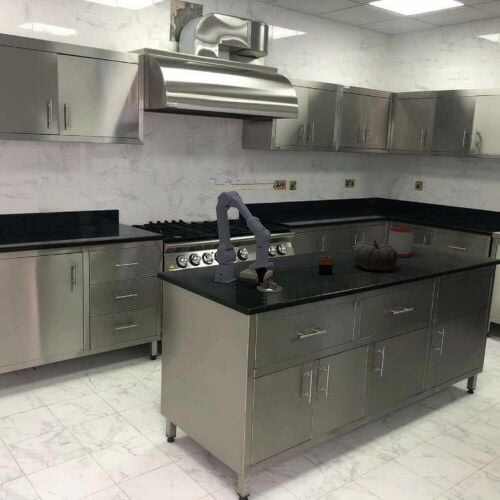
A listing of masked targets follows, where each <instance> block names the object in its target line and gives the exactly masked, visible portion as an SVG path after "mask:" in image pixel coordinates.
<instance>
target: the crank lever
mask: <svg viewBox="0 0 500 500" xmlns="http://www.w3.org/2000/svg"><path fill="white" fill-rule="evenodd" d="M255 283H258V277H256V280H255ZM258 284H259V285H265V286H266V287H270V288H272V289H277V285H278V283H276V282H274V279H270V278H267V279H264V278H263V283H258Z"/></svg>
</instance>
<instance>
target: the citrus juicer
mask: <svg viewBox="0 0 500 500" xmlns="http://www.w3.org/2000/svg"><path fill="white" fill-rule="evenodd" d="M388 232H389V233H388V241H387V242H388V243H387V244H389V245H391V246H392V247H393V248H394V249H395V250H396V252H397V254H398V258H408V257H410V254H411V252H412V248H413V244H414V239H416V235H415V230H412V231H410V228H406V227H405V226H404V225H403V224H400V225H399V226H398V227H391V228H389V229H388Z"/></svg>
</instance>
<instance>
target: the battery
mask: <svg viewBox="0 0 500 500" xmlns="http://www.w3.org/2000/svg"><path fill="white" fill-rule="evenodd" d="M333 262H334V258H333V257H332V256H330V255H328V256H326V255H321V256H319V258H318V274H319V275H320V276H332V275H333V266H334V263H333Z"/></svg>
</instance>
